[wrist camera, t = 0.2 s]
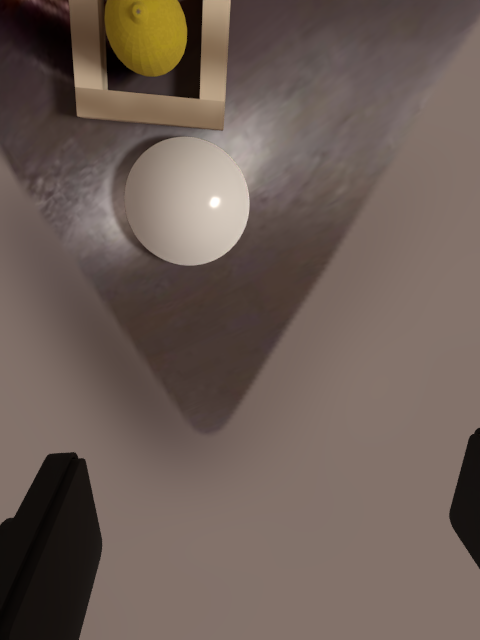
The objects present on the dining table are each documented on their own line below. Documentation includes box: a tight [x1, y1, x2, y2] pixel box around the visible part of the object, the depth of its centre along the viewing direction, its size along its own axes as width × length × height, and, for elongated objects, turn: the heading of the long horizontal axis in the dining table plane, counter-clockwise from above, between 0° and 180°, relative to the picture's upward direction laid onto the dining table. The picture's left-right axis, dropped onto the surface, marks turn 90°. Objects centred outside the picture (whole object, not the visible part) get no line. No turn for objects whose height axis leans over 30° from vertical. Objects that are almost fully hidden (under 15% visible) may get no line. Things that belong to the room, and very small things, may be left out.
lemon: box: [104, 0, 187, 77], centre depth 28 cm, size 6×6×8 cm
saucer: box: [124, 137, 249, 265], centre depth 36 cm, size 11×11×1 cm
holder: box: [69, 0, 231, 131], centre depth 30 cm, size 12×12×2 cm
